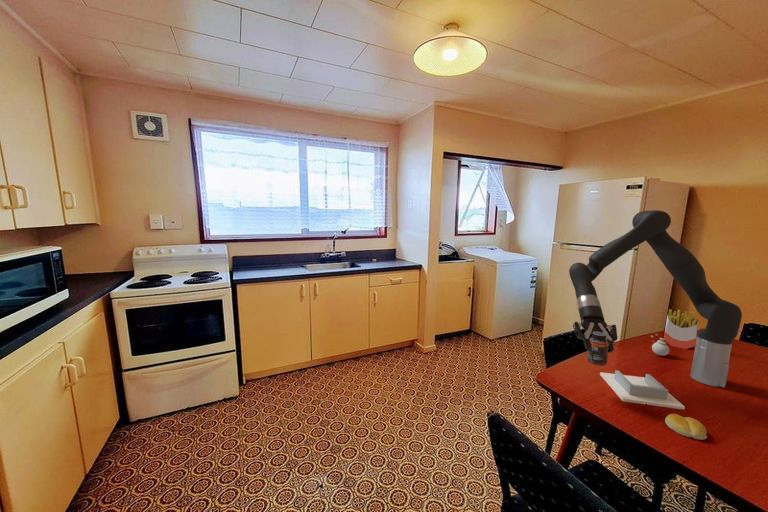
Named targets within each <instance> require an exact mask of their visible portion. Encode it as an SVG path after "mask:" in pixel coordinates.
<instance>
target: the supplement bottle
mask: <svg viewBox="0 0 768 512" xmlns="http://www.w3.org/2000/svg"><path fill="white" fill-rule="evenodd" d="M591 335H592V336H589V338H588V339H590V343H591V347H592V350H591V351H588V350H587V357H586V360H587V362H589V363H590V364H591V365H594V366H599V367H604V366H606V365H607V364H608V357H609V353H608V347H609V342H608V341H607V340H606V334H605V333H602V332H597V331H595V332H593V334H591Z"/></svg>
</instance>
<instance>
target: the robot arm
mask: <svg viewBox="0 0 768 512" xmlns="http://www.w3.org/2000/svg"><path fill="white" fill-rule="evenodd" d="M631 223H632V227H633V228H632V229H630V230H629V231H628V232H626V233H625V234H623V235H621V236H620V237H617V238H616V239H614V240H612V241H610V242H608V243H606V244H605V245H603V246H602V247H600V248H599V249H597V250H596V251H595V252H593V253H592V254H591V255H589V257H588V263H587V264H585V263H582V262H575V263H573V264H572V265H571V266H570V267H569V269H568V272H569V273H568V274H569V277H570V280H571V282H572V285H573V289H574V292H575V293H574V294H575V297H576V303H577V304H576V305H577V310H578V313H579V318H580V322H578V321H575V322H574V323H572V327H573V330H574V333H575V336H576V338H577V339H578V340H581V341H583V344H584V348H585V350H587V352H588V351H591V350H592V347H591V343H590V339H589V338H590V337H591V335H593V332H595V331H597V332H602V333H605V334H606V340H607V341H608V342H609V347H608V354H611V353H613V351H614V350H615V348H614V344H613V343H615V342H616V341H618V330H617V325H616V324H612V325H611V324H608V323H607V322H606V321H605V316H604V313H603V309H602V306H601V305H602V304H601V303H600V300H599V298H598V297H599V296H598V293H597V290H596V287H595V286H594V284H593V281H594V280H596V278H598V276H599V275H600V274H601V273H602V272H603V270H604V269H605V268H606V267H608V266H610V265H611V264H613V263H614V262H615V261H617V260H618V259H619V258H620V257H622V256H624V255H625V254H626V253H628V252H629V251H631V250H633V249H634V248H635V247H638V246H639V245H641V244H643V243H644V242H646V243H647V244H648V245H649V246H650V247H651V248H652V250H653V251H654V253H655V255H656V256H657V257H658V259H659V260H660V262H661V263H662V264H663V265H664V267H665V269H666V270H667V271H668V273H670V276H671V277H672V278H674V280H675V281H676V282H677V284H678V285H679V286H680V287H681V288H682V289H683V291H684V292H685V294H686V295H687V296H688V298H689V299H690V301H691V303H692V305H693V306H694V308H695V309H696V312H697V313H698V315H700V317H702V318H703V319H705V320H707V323H706V325H705V328H699V329H697V333H696V343H695V346H694V353H693V359H692V363H691V369H690V375H689V376H690V378H692V380H695V381H697V382H699V383H700V384H703V385H707V386H710V387H715V388H717V387H720V388H723V389H725V388H726V385H727V379H728V373H729V368H730V361H729V360H730V356H731V351H732V345H733V341H734V340H735V339H736V338H737V337H738V333H739V330H740V325H741V323H742V317H743V316H742V315H743V313H742V310H741V308H740V307H739V306H738V305H737V304H735V303H733V302H730V301H727V300H724V299H723V298H722V297H721V298H720V296H718V295H717V293H715V291H714V290H713V289H712V288H711V287H710V286H709V284H708V281H707V278H706V272H705V269H704V267H703V266H702V264H701V263H700V261H699V260H698V259H697V257H696V256H695V255H694V253H692V252H691V251H690V250H689V249H688V248H686V247H685V246H683V244H681V243H680V242H678V241H677V240H675V239H674V238H673V237H672V236H671V235H670V234H669V233H668V231H667V229H668V228H669V227H670V225H671V223H672V218H671V216H670V214H669V213H667V212H666V211H663V210H657V209H655V210H654V209H653V210H643V211H639V212H637V213H636V214H634V216H633V218H632V222H631ZM581 328H583V330H584V331H585V332H584V333H583V332H582V330H581ZM606 329H608V331H607V330H606ZM609 334H610V335H609Z"/></svg>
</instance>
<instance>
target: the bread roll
mask: <svg viewBox="0 0 768 512" xmlns="http://www.w3.org/2000/svg"><path fill="white" fill-rule="evenodd" d="M664 422H665V424H666V425H667V427H668V428H670V429H671V430H672V431H674V432H675V433H677V434H678V435H679V434H680V435H681V436H684V437H687V438H693V439H694V440H700V441H701V440H706V439H708V436H707V429H706V427H705V425H704V424H702V423H701V422H700V421H699V420H697V419H695V418H693V417H689V416H685V417H683V416H681V415H679V414H677V413H669V414H668V415H667V416H666V417H665V419H664Z"/></svg>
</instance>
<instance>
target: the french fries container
mask: <svg viewBox="0 0 768 512" xmlns="http://www.w3.org/2000/svg"><path fill="white" fill-rule="evenodd" d="M672 312H673V310H672V309H668V313H667V314H666V315H667V316H666V323H665V330H664V333H663V334H664V335H663V338H664V339H665V340H664V342H666V344H668V345H669V346H671V347H675V348H679V349H683V350H688V349H690V348H693V347H695V345H696V339H697V333H698V327H699V319H698V317H697V316H695V315H694V314H695V313H694V311H689V313H688V311H687V310H686V311H684V312H685V313H681V309H677V311H675V310H674V312H673V313H672Z"/></svg>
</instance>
